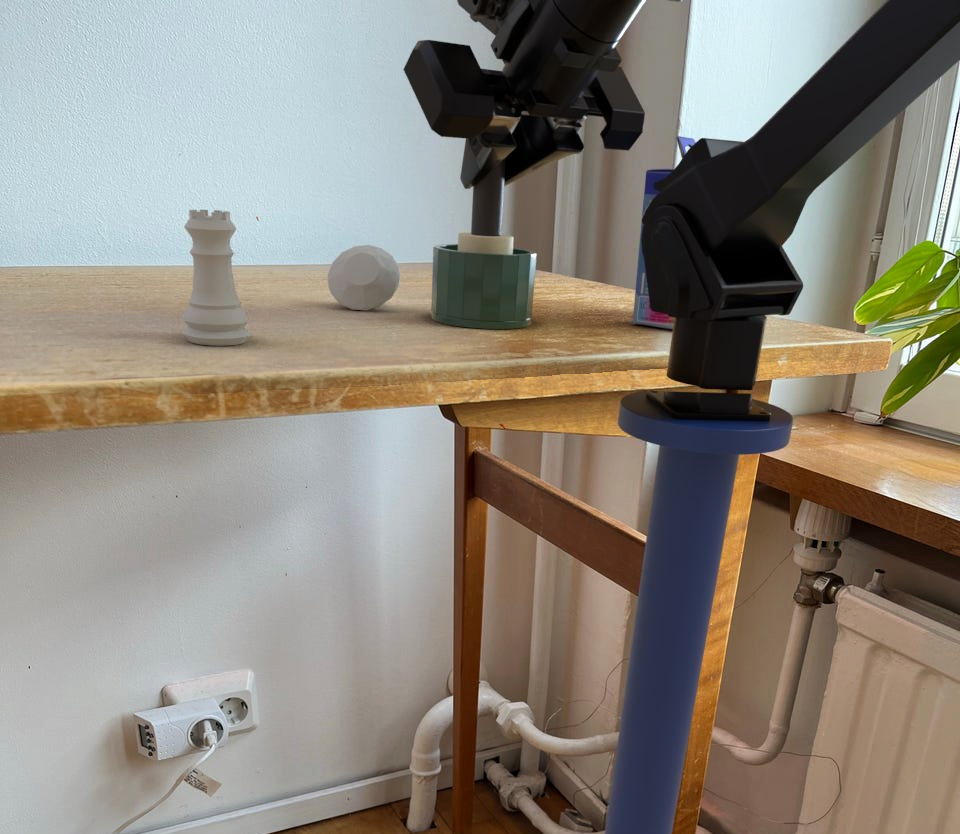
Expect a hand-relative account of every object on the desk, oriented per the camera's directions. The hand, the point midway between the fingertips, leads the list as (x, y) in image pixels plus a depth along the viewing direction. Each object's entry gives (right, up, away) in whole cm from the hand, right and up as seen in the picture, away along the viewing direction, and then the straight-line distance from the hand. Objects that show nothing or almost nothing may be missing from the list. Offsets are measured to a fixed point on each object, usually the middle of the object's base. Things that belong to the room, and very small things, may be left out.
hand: (478, 184), depth 77 cm
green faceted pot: (0, -10, +4) cm, 10 cm away
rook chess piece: (-18, -16, -11) cm, 26 cm away
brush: (0, -6, +2) cm, 7 cm away
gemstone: (-10, -7, +7) cm, 14 cm away
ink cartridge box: (+18, -8, +9) cm, 21 cm away
